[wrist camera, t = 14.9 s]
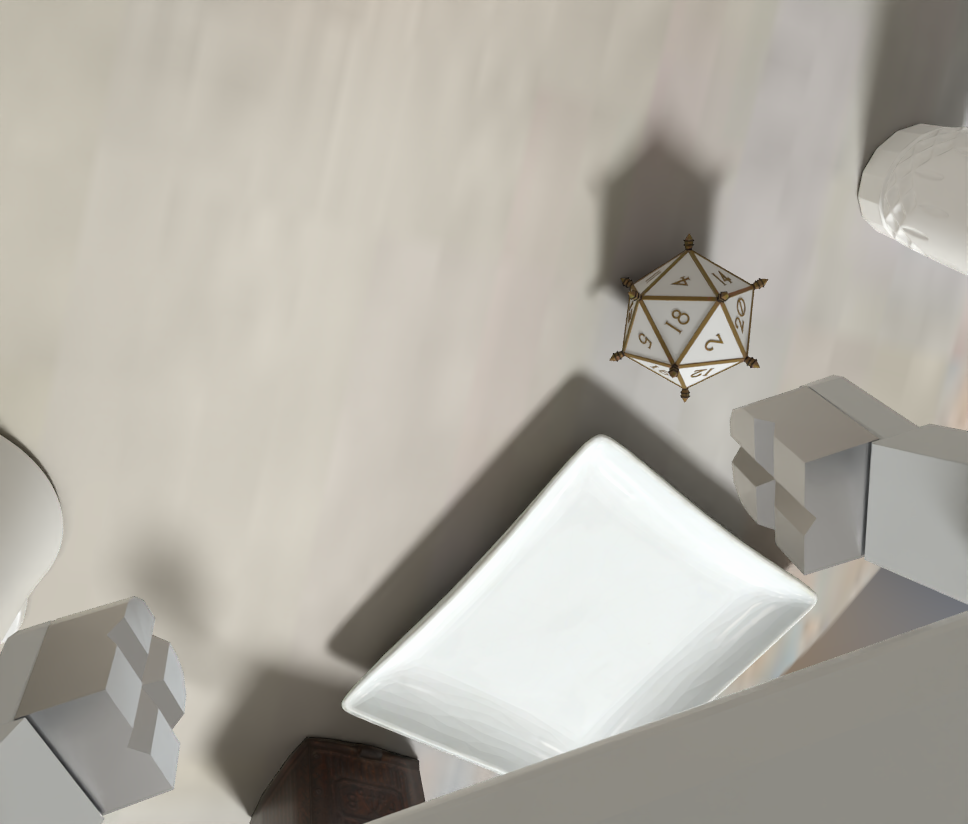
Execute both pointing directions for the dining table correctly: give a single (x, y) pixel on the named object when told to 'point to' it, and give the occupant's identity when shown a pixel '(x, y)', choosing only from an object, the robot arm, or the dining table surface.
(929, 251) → the white cup
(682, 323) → the game die
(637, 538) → the square plate
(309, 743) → the dark brown coffee grinder
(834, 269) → the dining table surface
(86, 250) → the dining table surface
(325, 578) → the dining table surface
